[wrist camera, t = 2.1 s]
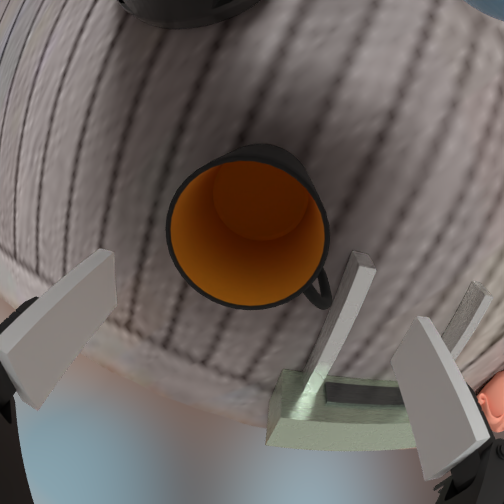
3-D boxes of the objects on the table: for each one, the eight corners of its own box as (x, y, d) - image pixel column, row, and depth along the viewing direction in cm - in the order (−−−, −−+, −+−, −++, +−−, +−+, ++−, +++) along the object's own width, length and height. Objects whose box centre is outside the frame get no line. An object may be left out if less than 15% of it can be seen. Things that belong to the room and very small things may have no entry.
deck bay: (327, 244, 25) (340, 286, 18) (492, 286, 24) (522, 320, 18) (269, 401, 34) (265, 445, 28) (407, 411, 34) (416, 447, 28)
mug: (285, 285, 27) (283, 367, 17) (192, 191, 24) (136, 234, 14) (357, 231, 24) (396, 296, 14) (263, 122, 21) (248, 117, 12)
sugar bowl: (493, 403, 34) (510, 440, 24) (450, 409, 34) (466, 455, 25) (530, 358, 29) (553, 395, 19) (492, 358, 29) (518, 406, 20)
